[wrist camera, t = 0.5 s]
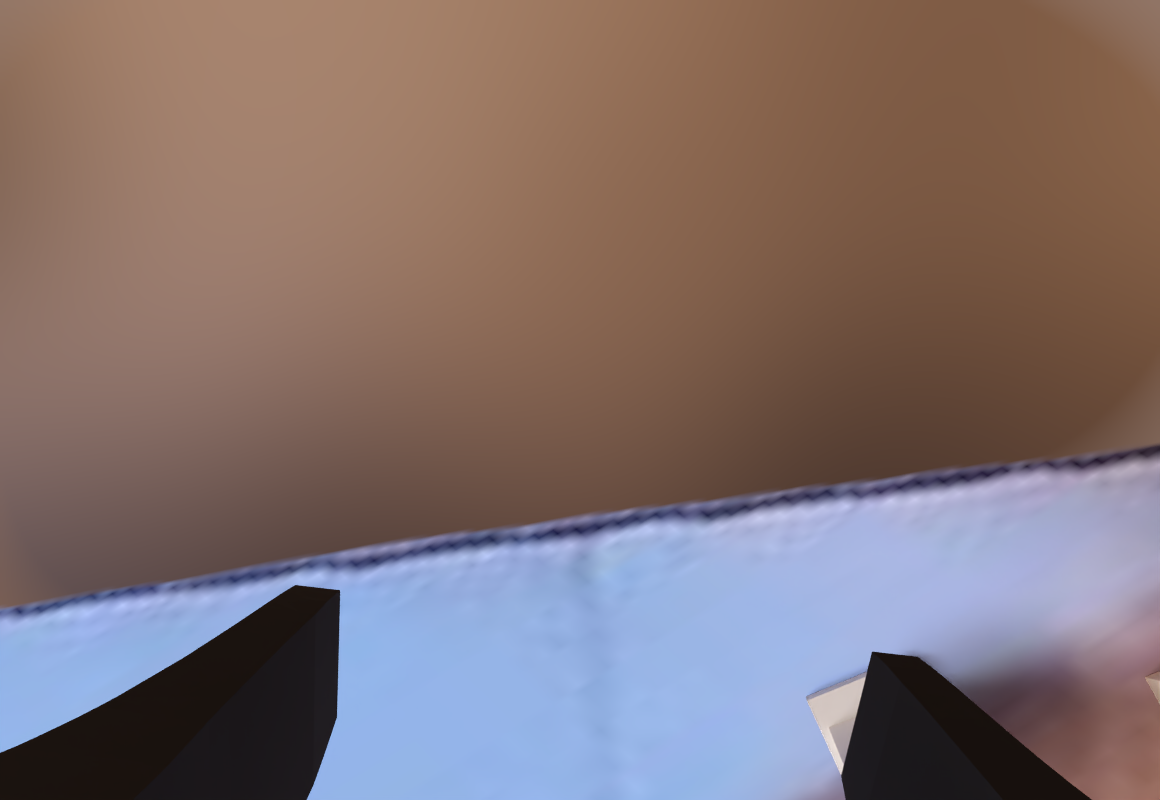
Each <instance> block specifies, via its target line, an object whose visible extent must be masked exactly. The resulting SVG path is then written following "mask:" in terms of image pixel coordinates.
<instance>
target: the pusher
mask: <svg viewBox="0 0 1160 800" xmlns="http://www.w3.org/2000/svg"><path fill="white" fill-rule="evenodd" d="M866 674H867V672H865V673H862V674H860V675H857V676H855V677H853V678H850V679H848V680H845V681H843V682H840V683H838V684H835V685H833V686H831V687H828V688H826V689H823V690H821V691H818V692H816V693H813V694H811V695H809V696H806V699H807V702H808V704H809V706H810V708H811V710H812V712H813V715H814V717H815V719H816V721H817V723H818V726H819V728H820V730H821V732H822V734H823V737H824V739H825V741H826V743H827V745H828V747H829V750H830V752H831V754H832V756H833V758H834V761H835V763H836V765H837V767H838V769H839V772H840V774H842V770H843V766H844V762H845V758H846V754H847V750H848V746H849V742H850V738H851V734H852V730H853V726H854V722H855V718H856V714H857V710H858V706H859V702H860V698H861V694H862V690H863V686H864V682H865V678H866Z"/></svg>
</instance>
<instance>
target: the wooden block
mask: <svg viewBox="0 0 1160 800" xmlns="http://www.w3.org/2000/svg"><path fill="white" fill-rule="evenodd" d="M1145 679H1146V681H1147V683H1148V684H1149V686H1150V688H1151V690H1152V691H1153V693H1154V695H1155V697H1156V698H1157V700H1158V702H1159V704H1160V671H1159V672H1156V673H1154V674H1151V675H1149V676H1146V677H1145Z"/></svg>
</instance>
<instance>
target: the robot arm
mask: <svg viewBox="0 0 1160 800" xmlns="http://www.w3.org/2000/svg"><path fill="white" fill-rule="evenodd" d="M339 614H340V590H333V589H324V588H316V587H307V586H298V585H295V586H293V587H291V588H290V589H288V590H286V591H285V592H283V593H282V594H280V595H279V596H277V597H276V598H274V599H273V600H271V601H269V602H268V603H267V604H265V605H264V606H262V607H261V608H259V609H258V610H256V611H255V612H253V613H252V614H250V615H249V616H247V617H246V618H244V619H243V620H241V621H240V622H238V623H237V624H235V625H234V626H232V627H231V628H229V629H228V630H226V631H224V632H223V633H221V634H220V635H218V636H217V637H215V638H214V639H212V640H211V641H209V642H207V643H206V644H204V645H203V646H201V647H200V648H198V649H197V650H195V651H194V652H192V653H191V654H189V655H187V656H186V657H184V658H183V659H181V660H179V661H177V662H176V663H174V664H172V665H171V666H169V667H167V668H165V669H164V670H162V671H160V672H159V673H157V674H155V675H153V676H152V677H150V678H148V679H147V680H145V681H143V682H141V683H140V684H138V685H136V686H135V687H133V688H131V689H129V690H128V691H126V692H124V693H123V694H121V695H119V696H117V697H116V698H114V699H112V700H110V701H108V702H106V703H105V704H103V705H101V706H99V707H97V708H95V709H93V710H91V711H89V712H87V713H85V714H83V715H81V716H79V717H77V718H75V719H73V720H71V721H69V722H67V723H65V724H63V725H61V726H59V727H57V728H55V729H52V730H50V731H48V732H46V733H44V734H42V735H40V736H38V737H36V738H34V739H31V740H29V741H27V742H25V743H22V744H20V745H18V746H16V747H13V748H11V749H8V750H6V751H4V752H1V753H0V800H307V798H308V795H309V793H310V791H311V789H312V787H313V785H314V782H315V779H316V776H317V773H318V771H319V768H320V765H321V762H322V760H323V757H324V754H325V751H326V748H327V745H328V742H329V739H330V736H331V733H332V730H333V727H334V724H335V721H336V718H337V693H338V653H339ZM841 777H842V782H843V788H844V793H845V798H846V800H1091V799H1090V798H1089V797H1087V796H1086V795H1085V794H1084V793H1082V792H1081V791H1080V790H1078V789H1077V788H1076V787H1074V786H1073V785H1072V784H1071V783H1069V782H1068V781H1067V780H1066V779H1064V778H1063V777H1062V776H1061V775H1059V774H1058V773H1057V772H1056V771H1054V770H1053V769H1052V768H1051V767H1049V766H1048V765H1047V764H1046V763H1044V762H1043V761H1042V760H1041V759H1040V758H1038V757H1037V756H1036V755H1035V754H1034V753H1032V752H1031V751H1030V750H1029V749H1028V748H1026V747H1025V746H1024V745H1023V744H1022V743H1020V742H1019V741H1018V740H1017V739H1016V738H1014V737H1013V736H1012V735H1011V734H1010V733H1009V732H1007V731H1006V730H1005V729H1004V728H1003V727H1002V726H1000V725H999V724H998V723H997V722H996V721H994V720H993V719H992V718H991V717H990V716H989V715H987V714H986V713H985V712H984V711H983V710H982V709H981V708H979V707H978V706H977V705H976V704H975V703H974V702H972V701H971V700H970V699H969V698H968V697H967V696H965V695H964V694H963V693H962V692H961V691H960V690H958V689H957V688H956V687H955V686H954V685H952V684H951V683H950V682H949V681H948V680H947V679H945V678H944V677H943V676H942V675H940V674H939V673H938V672H937V671H936V670H934V669H933V668H932V667H930V666H929V665H928V664H926V663H925V662H924V661H922V660H921V659H920V658H918V657H914V656H905V655H897V654H888V653H879V652H872V655H871V658H870V662H869V666H868V670H867V674H866V678H865V682H864V686H863V690H862V694H861V698H860V702H859V706H858V710H857V714H856V718H855V722H854V726H853V730H852V734H851V738H850V742H849V746H848V750H847V754H846V758H845V762H844V766H843V770H842V774H841Z"/></svg>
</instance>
